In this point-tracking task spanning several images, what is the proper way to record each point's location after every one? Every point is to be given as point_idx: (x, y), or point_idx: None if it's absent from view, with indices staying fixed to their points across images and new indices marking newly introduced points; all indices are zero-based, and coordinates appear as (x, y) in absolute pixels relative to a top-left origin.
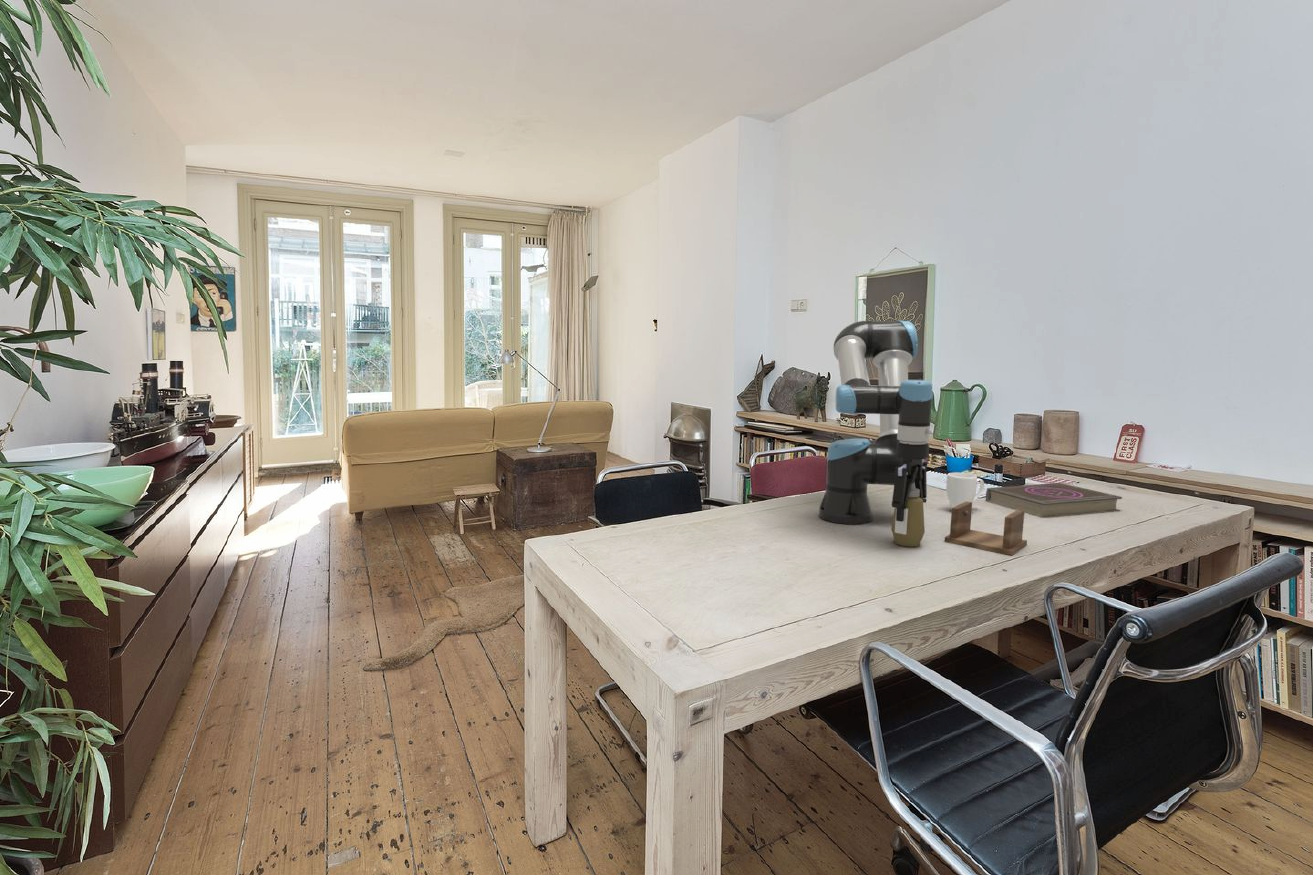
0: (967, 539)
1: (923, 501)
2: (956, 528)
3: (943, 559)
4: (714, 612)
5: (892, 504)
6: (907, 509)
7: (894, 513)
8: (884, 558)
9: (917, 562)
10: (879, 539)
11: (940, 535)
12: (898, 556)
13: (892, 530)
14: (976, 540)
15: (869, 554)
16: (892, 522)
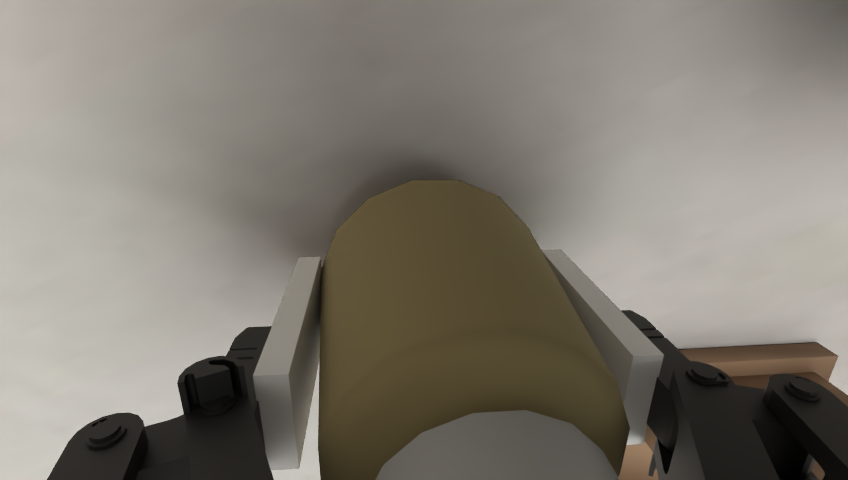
0: (631, 445)
1: (650, 465)
2: (651, 446)
3: (310, 454)
4: None
5: (74, 445)
6: (290, 463)
7: (362, 270)
8: (63, 283)
9: (164, 408)
10: (389, 85)
11: (702, 298)
12: (167, 315)
13: (353, 214)
14: (639, 471)
15: (43, 191)
16: (369, 221)
